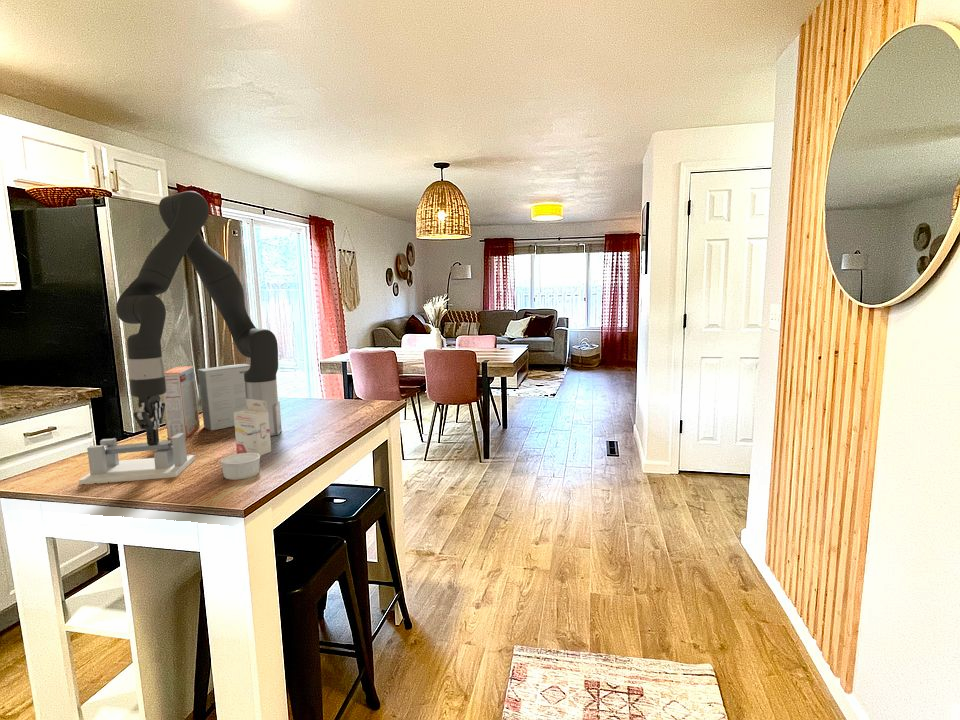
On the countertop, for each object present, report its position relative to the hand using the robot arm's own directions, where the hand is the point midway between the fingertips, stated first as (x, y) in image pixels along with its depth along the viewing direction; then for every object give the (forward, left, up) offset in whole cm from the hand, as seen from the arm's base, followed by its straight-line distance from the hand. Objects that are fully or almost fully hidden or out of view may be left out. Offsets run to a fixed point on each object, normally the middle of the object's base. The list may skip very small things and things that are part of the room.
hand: (153, 443), depth 132 cm
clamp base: (+4, 0, -7) cm, 8 cm away
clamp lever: (+4, 0, -2) cm, 5 cm away
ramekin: (-22, +9, -7) cm, 25 cm away
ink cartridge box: (-21, -9, -7) cm, 24 cm away
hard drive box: (-6, -45, -7) cm, 46 cm away
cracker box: (+6, -37, -7) cm, 38 cm away
